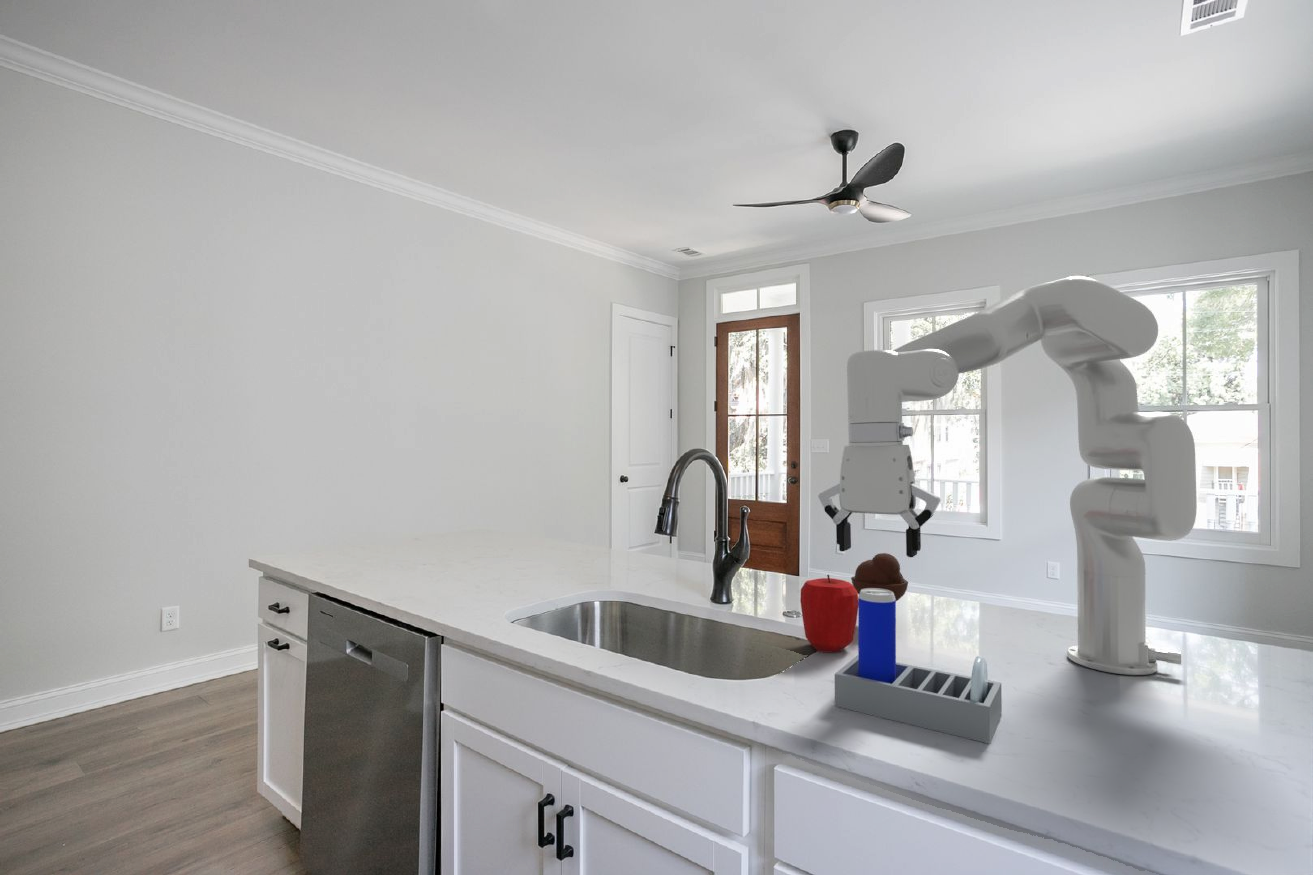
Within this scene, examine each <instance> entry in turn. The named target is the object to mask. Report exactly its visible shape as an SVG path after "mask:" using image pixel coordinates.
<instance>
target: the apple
mask: <svg viewBox="0 0 1313 875" xmlns="http://www.w3.org/2000/svg"><path fill="white" fill-rule="evenodd" d="M826 576H827V577H826V578H823V577H821V578H816V579H810V580H805V582H804V583H803V585H802V587H801V588H800V600H799V601H800V609H801V616H802V617H801V618H802V621H803V623H802V624H803V629H804V636H805V638H806V640H807V641H808V642H809V644H811V646H812V647H813V648H814V650H816V651H818V652H821V651H822V652H823V653H837V652H840V651H843V650H844V649H846V648H847V647H848V646H849V645H850V644H852V642H853V641H854V639H855V633H856V632H855V631H856V626H857V620H858V597H859V594H858V593H857V591H856V589H855V588H854V586H853V584H852V582H849V581H846V580H842V579H838V578H830V574H827V575H826Z"/></svg>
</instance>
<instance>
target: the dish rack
mask: <svg viewBox="0 0 1313 875" xmlns="http://www.w3.org/2000/svg"><path fill="white" fill-rule="evenodd" d="M971 677H972V676H968V675H964V674H958V673H953V672H949V671H943V670H937V669H932V668H928V667H922V666H916V665H911V664H906V663H903V662H902V663H900V662H896V680H895V681H894V682H893V683H892V684H890V683H885V682H880V681H876V680H871V679H866V678H861V677H859V661H858V654H857V655H856V656H855V657H853V658H852V659H851V660H850V661H848V662H847V663H846V664H845V665H844V666H843V667H841V668H840V669H838V671H837V672H835V673H834V707H836V708H837V707H838V708H841V709H845V710H850V711H855V712H858V713H862V714H866V715H871V716H875V717H879V718H882V719H887V720H891V721H894V722H899V723H903V724H907V725H910V726H915V727H919V728H923V729H924V728H925V729H928V730H932V731H936V732H940V733H943V734H944V733H945V734H949V735H952V736H956V737H961V738H964V739H969V740H974V741H978V742H981V743H985V744H989V745H990V744H991V741H992V739H993V738H994V737H993V736H994V734H995V732H996V730H997V727H998V725H999V723H1000V721H1001V718H1002V716H1003V714H1002V710H1003V709H1002V702H1003V701H1002V696H1003V695H1002V682H999V681H994V680H989V679H988V690H987V698H986V700H985V702H984V703H979V702H975V701H971V698H970V695H971Z"/></svg>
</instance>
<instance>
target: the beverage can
mask: <svg viewBox="0 0 1313 875" xmlns="http://www.w3.org/2000/svg"><path fill="white" fill-rule="evenodd" d="M896 602H897V601H896V599H895V596H894V593H893V592H892V591H890V590H886V589H880V588H866V589H862V590H861V591H860V594H858V613H857V620H858V624H857V625H858V630H857V631H858V632H857V633H858V634H857V635H858V636H857V637H858V639H857V640H858V643H857V644H858V645H857V646H858V649H857V650H858V654H857V655H858V661H859V677H861V678H866V679H871V680H876V681H880V682H885V683H890V684H892V683H893V682H894V681H895V680H896V663H897V662H896V661H897V649H896V648H897V643H896V642H897V637H896V636H897V631H896V630H897V625H896V624H897V608H896V607H897V604H896Z"/></svg>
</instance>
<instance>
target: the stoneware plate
mask: <svg viewBox="0 0 1313 875" xmlns="http://www.w3.org/2000/svg"><path fill="white" fill-rule="evenodd" d="M970 677H971V695H970V698H971V701H975V702H979V703H984V702H985V700H986V698H987V690H988V680H989V675H988V664H987V658H985V657H984V656H978V655H977V656H976V657H975V659H974V661H973V665H972V671H971V676H970Z"/></svg>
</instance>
